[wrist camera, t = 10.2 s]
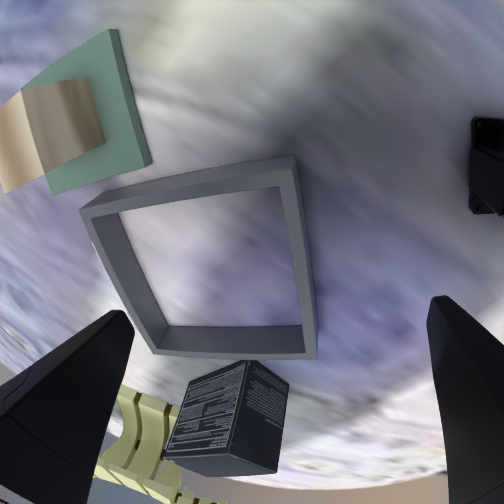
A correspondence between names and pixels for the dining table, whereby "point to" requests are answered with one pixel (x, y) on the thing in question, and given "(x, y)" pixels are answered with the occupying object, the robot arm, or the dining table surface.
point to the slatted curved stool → (145, 450)
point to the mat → (100, 113)
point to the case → (141, 297)
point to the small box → (231, 422)
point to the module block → (46, 129)
